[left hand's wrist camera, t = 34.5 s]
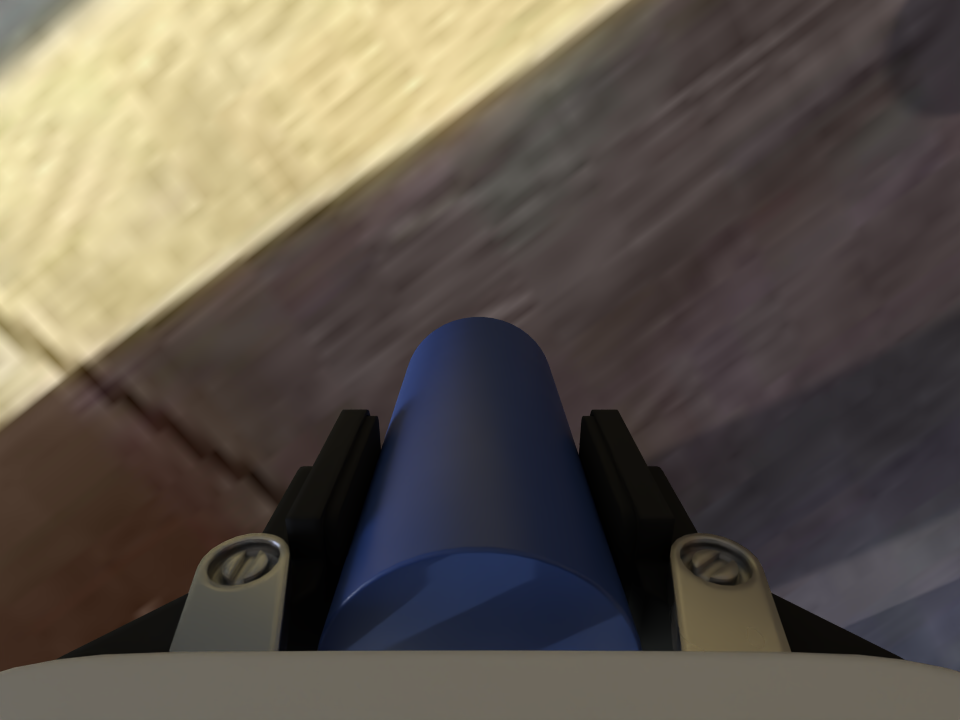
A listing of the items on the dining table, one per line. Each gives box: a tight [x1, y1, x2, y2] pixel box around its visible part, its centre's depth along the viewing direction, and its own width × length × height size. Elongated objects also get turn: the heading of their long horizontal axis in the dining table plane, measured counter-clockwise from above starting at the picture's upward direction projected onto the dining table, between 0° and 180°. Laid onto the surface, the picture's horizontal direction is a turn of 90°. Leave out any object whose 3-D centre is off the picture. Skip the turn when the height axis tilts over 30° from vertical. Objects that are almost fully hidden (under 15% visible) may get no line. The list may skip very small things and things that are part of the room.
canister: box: [317, 317, 642, 651], centre depth 12 cm, size 4×4×10 cm
